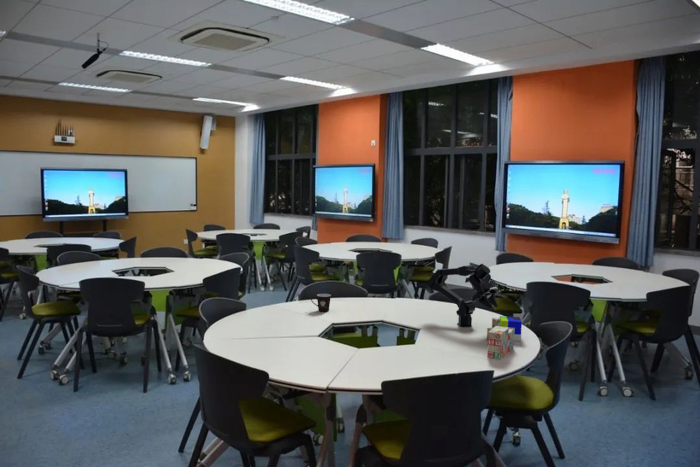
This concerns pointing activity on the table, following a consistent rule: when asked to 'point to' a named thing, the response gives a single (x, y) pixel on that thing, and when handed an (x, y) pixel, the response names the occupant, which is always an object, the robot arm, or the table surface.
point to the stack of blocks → (499, 342)
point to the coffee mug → (323, 302)
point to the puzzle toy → (512, 325)
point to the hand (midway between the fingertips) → (494, 307)
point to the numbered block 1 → (495, 322)
